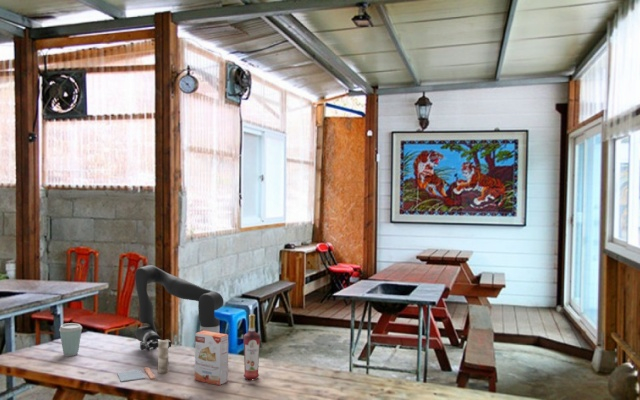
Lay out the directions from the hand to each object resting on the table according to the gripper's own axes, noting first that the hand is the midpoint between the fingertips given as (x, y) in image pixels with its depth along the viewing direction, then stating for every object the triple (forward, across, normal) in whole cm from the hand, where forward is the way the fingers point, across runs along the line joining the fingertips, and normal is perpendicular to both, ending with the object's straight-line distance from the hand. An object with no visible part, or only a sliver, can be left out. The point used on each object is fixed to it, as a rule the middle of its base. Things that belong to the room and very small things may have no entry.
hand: (158, 348), depth 253 cm
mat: (+11, -14, +8) cm, 20 cm away
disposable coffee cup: (-37, -36, +8) cm, 52 cm away
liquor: (+37, +33, +8) cm, 50 cm away
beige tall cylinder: (+11, 0, +8) cm, 14 cm away
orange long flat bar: (+11, -6, +8) cm, 15 cm away
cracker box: (+33, +16, +8) cm, 38 cm away
